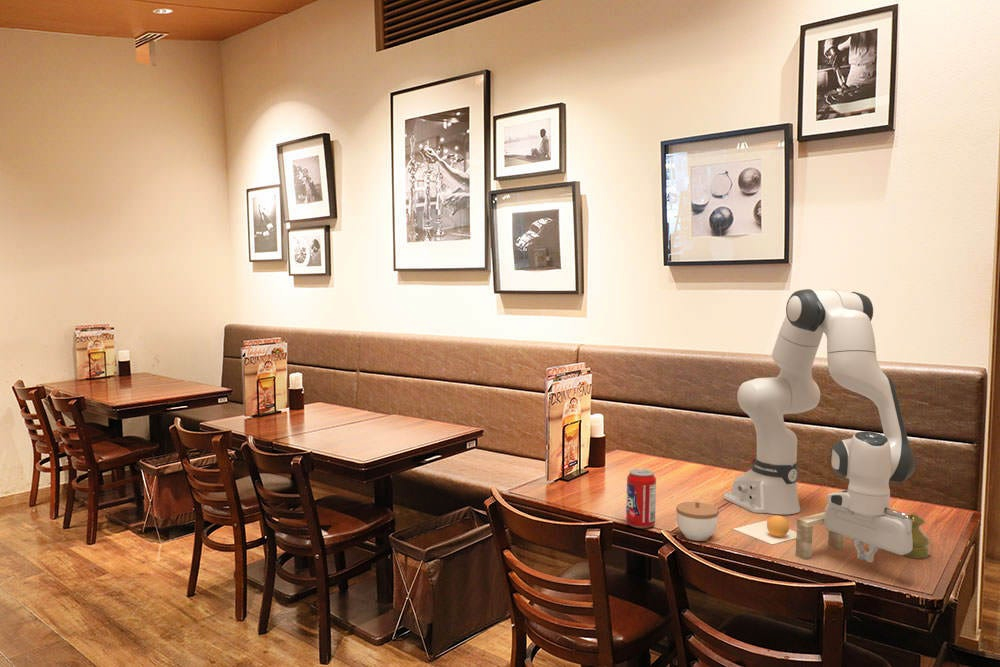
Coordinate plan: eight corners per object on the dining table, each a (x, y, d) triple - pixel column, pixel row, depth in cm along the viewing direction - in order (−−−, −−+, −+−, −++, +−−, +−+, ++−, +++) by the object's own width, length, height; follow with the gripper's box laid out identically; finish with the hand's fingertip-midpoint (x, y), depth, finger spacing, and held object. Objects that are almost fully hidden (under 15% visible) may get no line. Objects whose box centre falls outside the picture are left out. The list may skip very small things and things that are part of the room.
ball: (776, 515, 189) (782, 537, 187) (789, 512, 192) (796, 533, 190) (759, 519, 193) (766, 540, 192) (773, 515, 196) (779, 536, 195)
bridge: (795, 555, 179) (797, 519, 178) (832, 544, 186) (834, 509, 186) (806, 559, 177) (807, 522, 176) (843, 548, 184) (845, 512, 183)
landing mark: (732, 529, 197) (732, 528, 197) (765, 521, 204) (765, 520, 204) (772, 545, 186) (772, 544, 186) (805, 536, 192) (805, 535, 192)
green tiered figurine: (916, 548, 185) (919, 509, 184) (935, 559, 177) (937, 519, 176) (888, 548, 184) (890, 509, 184) (905, 559, 177) (907, 519, 176)
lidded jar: (726, 538, 190) (727, 503, 190) (699, 547, 184) (700, 511, 183) (693, 526, 199) (694, 493, 198) (667, 534, 193) (667, 500, 192)
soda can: (655, 530, 196) (657, 476, 194) (626, 529, 197) (627, 474, 196) (654, 521, 203) (655, 468, 202) (625, 519, 205) (626, 467, 203)
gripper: (920, 513, 163) (917, 573, 164) (837, 489, 180) (835, 543, 181) (904, 518, 159) (900, 579, 160) (821, 493, 177) (818, 548, 178)
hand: (865, 560), depth 171 cm, fingers closed
